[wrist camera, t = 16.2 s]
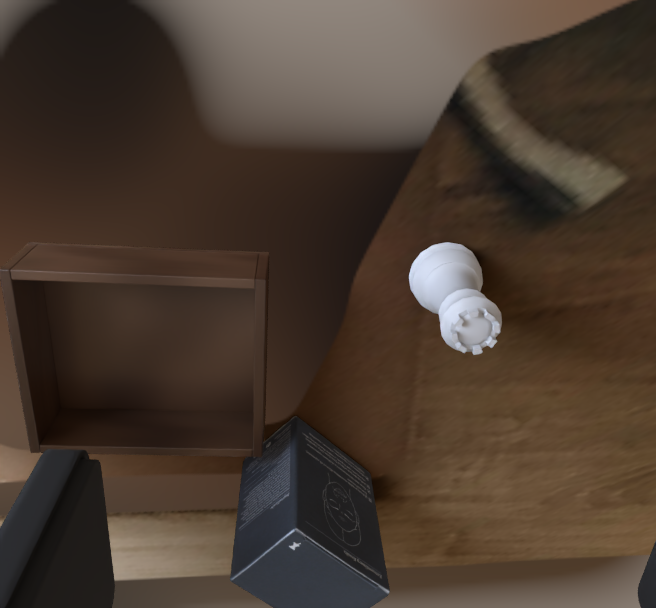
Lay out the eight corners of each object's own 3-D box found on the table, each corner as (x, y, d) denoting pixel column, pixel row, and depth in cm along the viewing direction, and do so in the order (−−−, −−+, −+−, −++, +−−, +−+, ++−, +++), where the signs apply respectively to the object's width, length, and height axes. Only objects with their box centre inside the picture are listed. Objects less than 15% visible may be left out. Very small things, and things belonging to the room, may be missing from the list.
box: (241, 459, 45) (226, 582, 35) (296, 412, 43) (296, 526, 34) (319, 516, 47) (324, 644, 38) (373, 473, 46) (393, 595, 36)
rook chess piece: (481, 238, 38) (524, 292, 31) (474, 304, 40) (513, 369, 33) (409, 239, 38) (435, 294, 31) (405, 306, 40) (429, 371, 33)
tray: (54, 412, 42) (30, 453, 38) (29, 242, 37) (-3, 269, 33) (265, 417, 43) (262, 457, 39) (269, 251, 38) (266, 279, 34)
